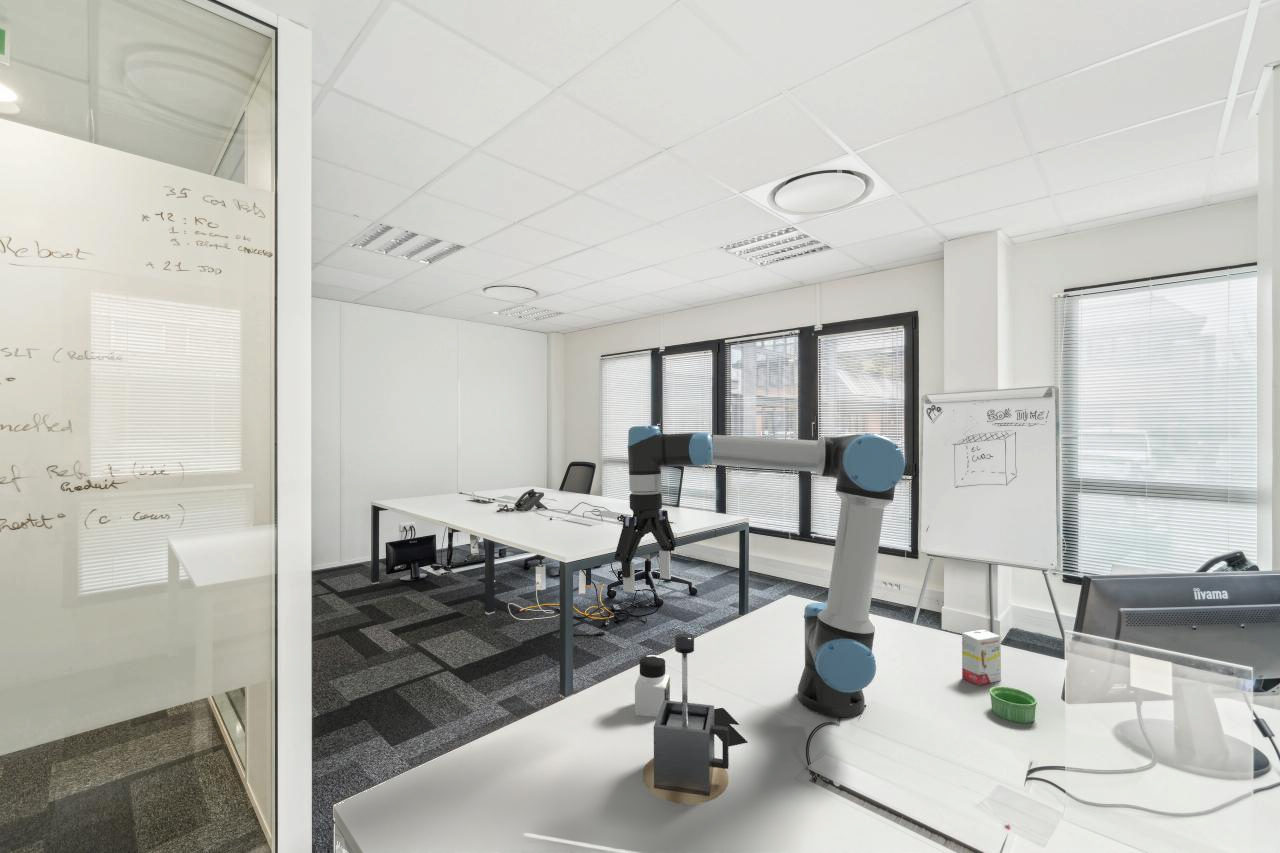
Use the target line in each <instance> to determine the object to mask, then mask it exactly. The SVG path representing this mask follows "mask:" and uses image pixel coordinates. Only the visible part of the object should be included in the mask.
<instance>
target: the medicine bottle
mask: <svg viewBox="0 0 1280 853" xmlns="http://www.w3.org/2000/svg"><path fill="white" fill-rule="evenodd" d="M670 678H671V677H670V674H667V673H666V660H665V659H664V658H663V657H662V656H659V655H656V654H655V655H653V654H651V655H650V654H649V655H645V656H643V657H642V658H641V659H640V660H639V675H638V678H637V680H636V682H635V685H634V715H635V716H645V717H656V718H657V716H658V714H659V711H660V708H661V706H662V703H663V701H664V700H667V701H671V699H670V698H671V694H670V693H671V688H670V686H671V685H670V684H671V682H670V681H671V680H670Z"/></svg>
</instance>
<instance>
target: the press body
mask: <svg viewBox="0 0 1280 853" xmlns="http://www.w3.org/2000/svg"><path fill="white" fill-rule="evenodd" d="M714 709H715V705H711V704H701V703H695V702H694V703H693V702H688V716H695V717H704V718H705V724H704V729H703V730H698V729H690V728H682V727H673V726H666V725H667V722H668V719H669V716H670V714H677V715H682V701H675V700H674V701H673V700H670V701H667V700H664V701H663V703H662V706H661V708H660V711H659V714H658V716H657V717H656V719H655V723H654V725H653V758H654V788H656V789H663V790H669V791H676V792H683V793H690V794H697V795H704V796H710V790H711V783H712V776H713V770H714V767H716V768H723V769H726V770H729V759H730V758H729V747H728V727H723V726H715V725H714ZM715 735H716V736H717V735H722V741H721V742H722V758H717V757H715Z"/></svg>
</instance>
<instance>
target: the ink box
mask: <svg viewBox="0 0 1280 853" xmlns="http://www.w3.org/2000/svg"><path fill="white" fill-rule="evenodd" d="M1001 639H1002V638H1001V636H1000V635H999V634H997V633H994V632H991V631H989V630H987V629H977V630H973V631H972V630H971V631H965V632H963V633H962V634H961V656H962V657H961V660H962V661H961V677H962V679H963V680H966V681H968V682H971V683H972V684H975V685H977V686H983V685H988V684H990V683H991V684H992V683H996V682H1000V681H1002V661H1001V655H1002V653H1001V649H1002V648H1001V642H1002V641H1001Z"/></svg>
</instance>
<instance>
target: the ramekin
mask: <svg viewBox="0 0 1280 853" xmlns="http://www.w3.org/2000/svg"><path fill="white" fill-rule="evenodd" d="M988 693H989V696H990V701H991V702H990V703H991V709H992V711H993V713H994V714H995V715H997V716H999V718H1002V719H1004V720H1006V721H1010V722H1013V723H1021V724H1028V723H1032V722H1034V721H1035V718H1036V708H1037V704H1038V701H1037V698H1036V697H1035V696H1034V695H1032V694H1030V693H1029V692H1026V691H1024V690H1021V689H1019V688H1014V687H1009V686H994V687H993V686H992V687H991V688H989V692H988Z"/></svg>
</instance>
